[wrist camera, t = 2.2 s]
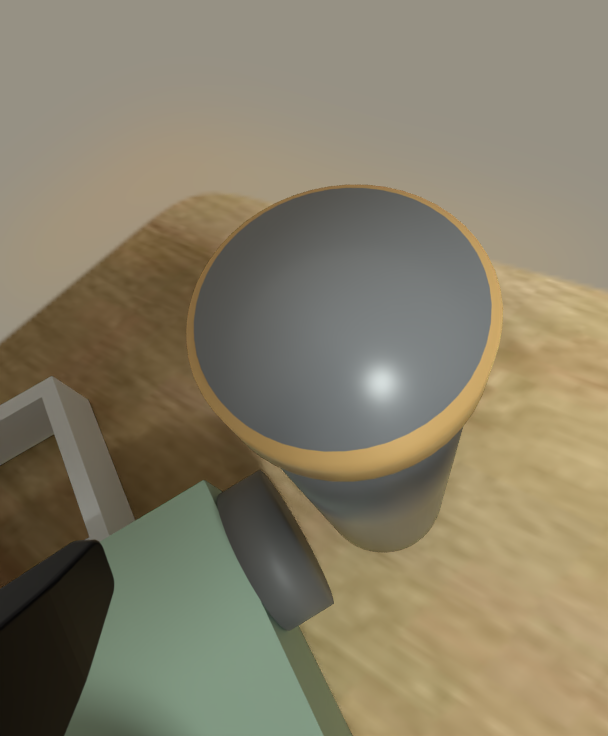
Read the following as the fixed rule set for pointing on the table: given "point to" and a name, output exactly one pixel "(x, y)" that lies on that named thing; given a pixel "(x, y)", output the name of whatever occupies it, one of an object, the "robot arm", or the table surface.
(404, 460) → the grey banded cylinder
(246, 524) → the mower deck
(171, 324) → the table surface
